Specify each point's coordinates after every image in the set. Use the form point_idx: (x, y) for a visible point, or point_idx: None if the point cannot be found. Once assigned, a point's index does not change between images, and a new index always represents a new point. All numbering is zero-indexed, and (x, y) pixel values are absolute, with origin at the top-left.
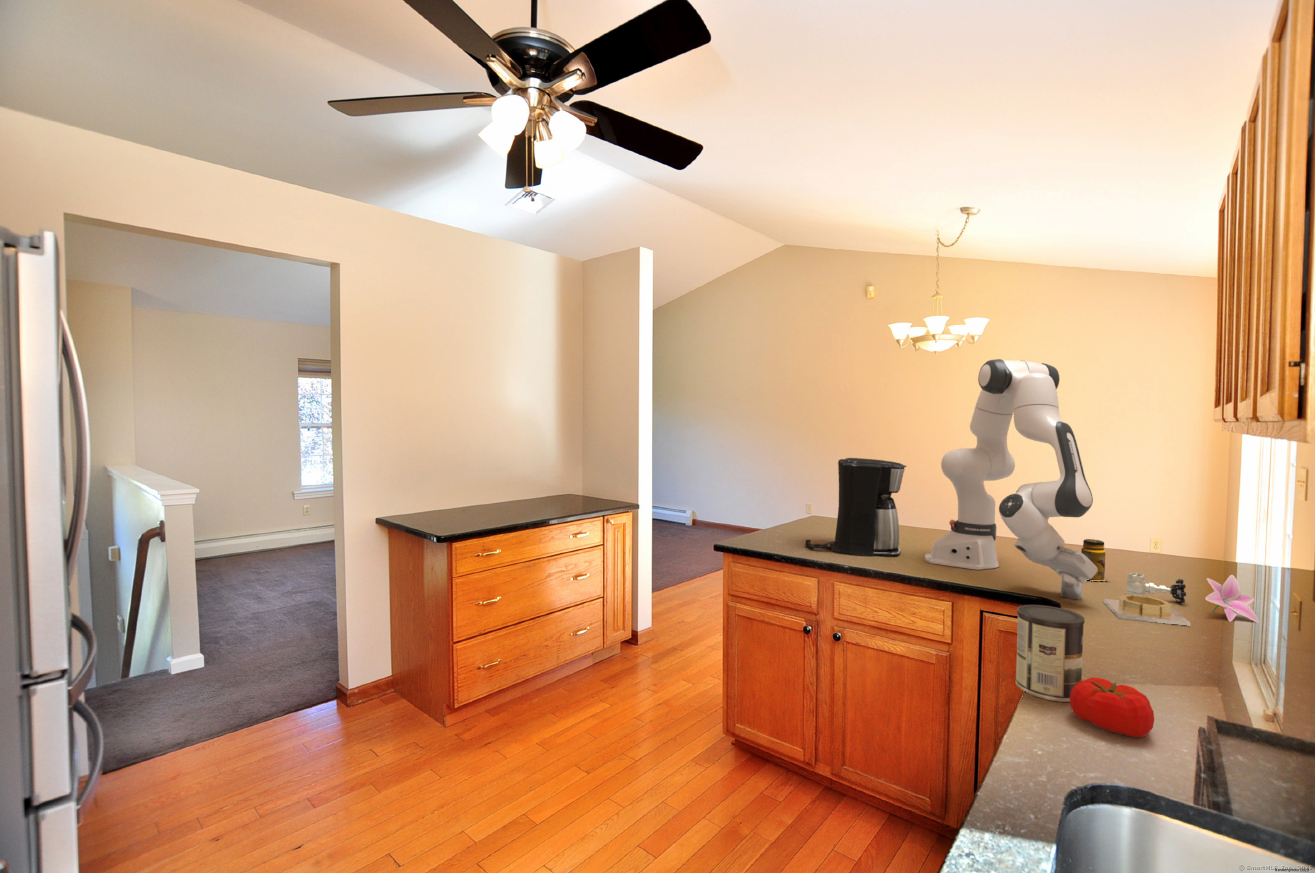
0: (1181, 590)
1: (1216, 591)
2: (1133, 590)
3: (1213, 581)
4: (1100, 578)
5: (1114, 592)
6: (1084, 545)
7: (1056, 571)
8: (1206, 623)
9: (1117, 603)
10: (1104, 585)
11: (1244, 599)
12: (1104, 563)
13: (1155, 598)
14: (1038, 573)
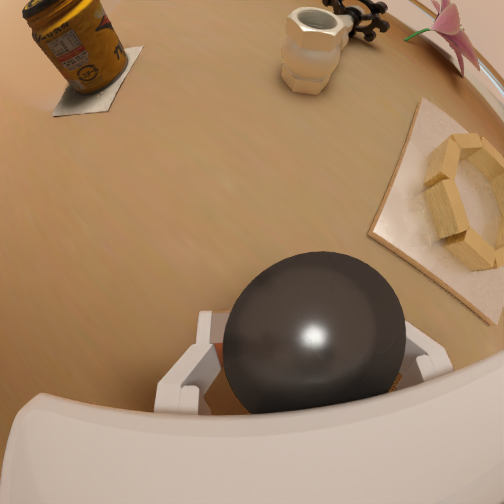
0: (377, 18)
1: (461, 30)
2: (324, 76)
3: (452, 6)
4: (124, 59)
5: (241, 93)
6: (36, 23)
7: (214, 377)
8: (491, 132)
9: (426, 233)
10: (162, 74)
11: (438, 11)
12: (108, 19)
13: (465, 137)
14: (15, 195)
